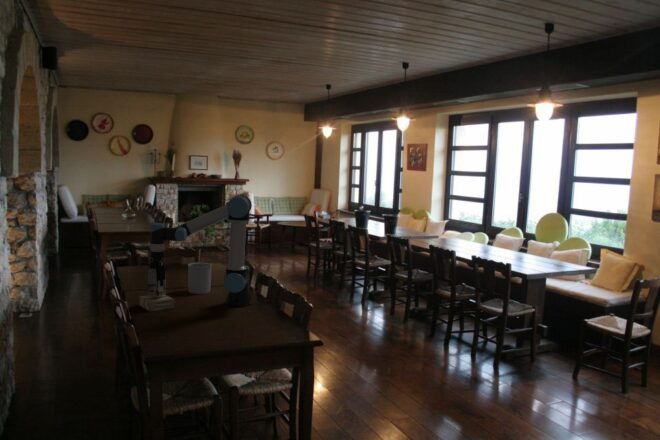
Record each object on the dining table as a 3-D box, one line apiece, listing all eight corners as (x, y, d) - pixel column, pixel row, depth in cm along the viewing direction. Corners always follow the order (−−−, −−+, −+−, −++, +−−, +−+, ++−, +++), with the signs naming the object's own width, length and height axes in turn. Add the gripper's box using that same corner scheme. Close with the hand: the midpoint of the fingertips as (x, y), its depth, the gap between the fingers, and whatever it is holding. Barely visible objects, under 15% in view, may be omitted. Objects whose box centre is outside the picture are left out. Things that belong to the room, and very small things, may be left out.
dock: (174, 308, 305) (174, 299, 304) (150, 311, 296) (150, 302, 295) (162, 302, 317) (163, 293, 317) (139, 305, 308) (139, 296, 308)
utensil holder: (213, 293, 343) (213, 266, 341) (188, 294, 337) (189, 267, 336) (209, 288, 356) (209, 262, 355) (186, 289, 351) (186, 262, 349)
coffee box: (157, 297, 301) (158, 269, 299) (147, 296, 302) (147, 268, 300) (166, 294, 310) (166, 266, 308) (155, 293, 311) (156, 265, 309)
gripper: (143, 248, 310) (142, 286, 312) (158, 254, 292) (158, 294, 294) (155, 247, 314) (155, 285, 317) (172, 253, 297) (171, 293, 299)
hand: (156, 289), depth 306 cm, fingers closed on coffee box, 10 cm apart
